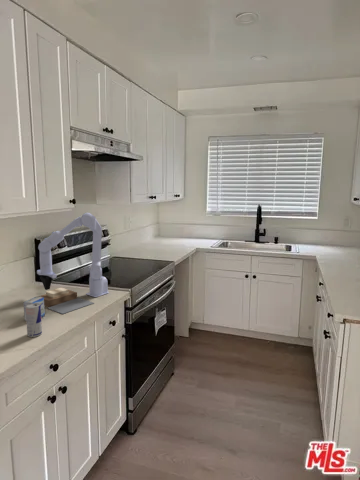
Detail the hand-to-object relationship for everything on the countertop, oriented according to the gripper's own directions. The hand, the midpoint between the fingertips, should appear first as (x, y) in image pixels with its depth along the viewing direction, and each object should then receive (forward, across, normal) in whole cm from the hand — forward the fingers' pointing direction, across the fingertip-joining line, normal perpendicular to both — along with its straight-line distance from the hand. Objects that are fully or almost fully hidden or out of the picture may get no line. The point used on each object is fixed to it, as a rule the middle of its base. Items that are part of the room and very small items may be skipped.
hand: (47, 289), depth 172 cm
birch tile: (+1, +9, 0) cm, 9 cm away
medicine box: (+5, +20, -19) cm, 28 cm away
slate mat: (+4, +20, 0) cm, 20 cm away
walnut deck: (+4, +9, 0) cm, 10 cm away
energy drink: (+5, +35, -28) cm, 45 cm away
